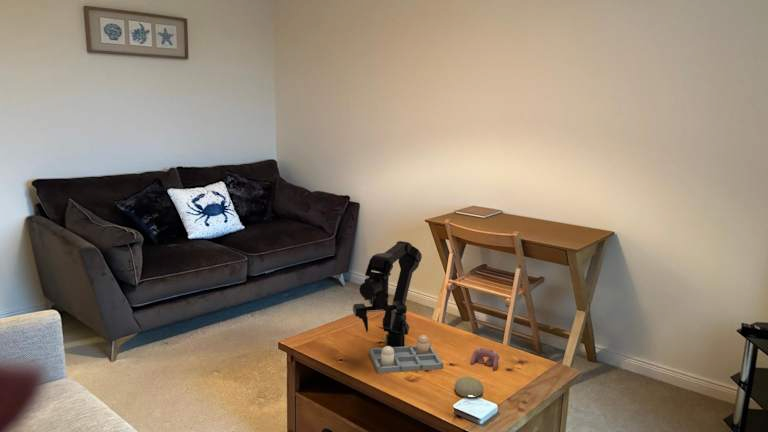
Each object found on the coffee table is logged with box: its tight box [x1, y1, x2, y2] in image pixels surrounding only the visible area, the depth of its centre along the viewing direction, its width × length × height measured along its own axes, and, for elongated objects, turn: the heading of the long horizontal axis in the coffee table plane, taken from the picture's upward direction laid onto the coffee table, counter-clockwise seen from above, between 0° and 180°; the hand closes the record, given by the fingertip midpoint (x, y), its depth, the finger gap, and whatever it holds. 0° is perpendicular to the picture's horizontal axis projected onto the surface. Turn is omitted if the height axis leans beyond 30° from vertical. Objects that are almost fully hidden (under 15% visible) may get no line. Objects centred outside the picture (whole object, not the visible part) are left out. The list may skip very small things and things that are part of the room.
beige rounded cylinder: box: [416, 334, 430, 355], centre depth 221 cm, size 5×5×8 cm
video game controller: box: [470, 347, 500, 371], centre depth 216 cm, size 10×5×7 cm, turn 67°
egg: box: [381, 345, 394, 367], centre depth 210 cm, size 5×5×8 cm
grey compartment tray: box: [368, 344, 444, 374], centre depth 216 cm, size 24×16×2 cm
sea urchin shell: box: [454, 376, 484, 397], centre depth 196 cm, size 9×8×8 cm
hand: (379, 330), depth 214 cm, fingers open, 9 cm apart
